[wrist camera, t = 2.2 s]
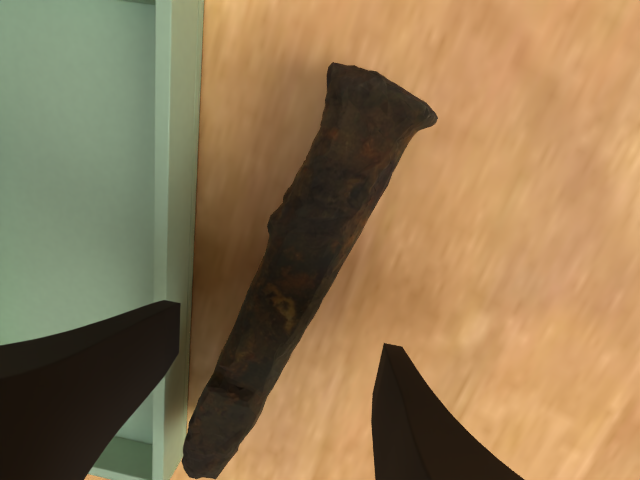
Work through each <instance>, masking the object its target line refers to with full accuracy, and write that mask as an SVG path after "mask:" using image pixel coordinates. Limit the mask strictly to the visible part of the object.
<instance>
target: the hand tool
mask: <svg viewBox="0 0 640 480" xmlns="http://www.w3.org/2000/svg"><path fill="white" fill-rule="evenodd" d="M437 119H438V117H437V115H436V114H435V112H434V111H433V110H432V109H431V108H430V107H429V105H427V103H425V102H424V101H422V100H420V99H419V98H417V97H415V96H414V95H412V94H411V93H409V92H408V91H406V90H404V89H403V88H401V87H400V86H398V85H397V84H395V83H393V82H391V81H390V80H388V79H387V78H385V77H384V76H382V75H381V74H379V73H378V72H377V71H368V70H365V69H362V68H358V67H357V66H355V65H353V66H347V65H343V64H339V63H334V62H333V63H332V64H331V65H330V66H329V67H328V71H327V95H326V99H325V109H324V112H323V118H322V122H321V128H320V130H319V132H318V134H317V135H316V137H315V139H314V141H313V143H312V146H311V149H310V151H309V153H308V155H307V157H306V160H305V161H304V163H303V165H302V166H301V168H300V170H299V171H298V173H297V174H296V177H295V179H294V182H293V184H292V185H291V187H290V188H288V190H287V191H286V193H285V195H284V197H283V203H282V204H281V205H280V207H279V208H278V209H277V210H276V211H275V212H274V213H273V214H272V215H271V216H270V219H269V222H268V225H267V228H268V232H269V240H268V246H267V249H266V252H265V254H264V257H263V259H262V261H261V264H260V266H259V268H258V271H257V273H256V275H255V277H254V279H253V281H252V283H251V285H250V288H249V290H248V292H247V295H246V298H245V301H244V303H243V305H242V307H241V310H240V313H239V315H238V318H237V320H236V323H235V325H234V327H233V330H232V332H231V334H230V336H229V338H228V340H227V342H226V344H225V346H224V348H223V350H222V352H221V354H220V356H219V359H218V362H217V365H216V368H215V371H214V373H213V375H212V376H211V378H210V380H209V381H208V383H207V385H206V386H205V388H204V390H203V392H202V394H201V397H200V398H199V400H198V403H197V406H196V408H195V410H194V413H193V415H192V417H191V419H190V422H189V428H188V433H187V435H186V438H185V441H184V445H183V458H182V464H183V466H184V467H183V468H184V470H185V471H186V473H187V474H188V476H189V477H190V478H195V479H198V478H201V477H206V478H213V479H216V478H217V477H218V476H219V474H220V473H221V472H222V470H223V469H224V467H225V466H226V465H227V463H228V462H229V461H230V459H231V458H232V457H233V456H234V455H235V453H236V452H237V451H238V447H239V444H240V443H241V442H242V441H243V439H244V438H245V436H246V435H247V434H248V433H249V432H250V431H251V429H252V428H253V427H254V425H255V423H256V422H257V420H258V418H259V416H260V414H261V412H262V410H263V407H264V404H265V401H266V398H267V396H268V395H269V393H270V391H271V390H272V389H273V387H274V385H275V383H276V381H277V380H278V378H279V376H280V374H281V372H282V370H283V368H284V367H285V365H286V363H287V361H288V360H289V358H290V355H291V353H292V351H293V350H294V348H295V347H296V345H297V344H298V342H299V341H300V339H301V337H302V335H303V333H304V331H305V329H306V328H307V326H308V325H309V323H310V322H311V320H312V319H313V317H314V315H315V314H316V312H317V310H318V309H319V307H320V304H321V302H322V300H323V298H324V297H325V295H326V293H327V292H328V290H329V289H330V287H331V285H332V283H333V282H334V280H335V278H336V276H337V274H338V272H339V270H340V268H341V266H342V265H343V263H344V261H345V259H346V258H347V256H348V254H349V252H350V251H351V249H352V247H353V246H354V244H355V242H356V241H357V239H358V237H359V236H360V234H361V232H362V230H363V228H364V226H365V224H366V222H367V220H368V218H369V216H370V215H371V213H372V211H373V209H374V208H375V206H376V204H377V203H378V201H379V199H380V197H381V196H382V194H383V192H384V191H385V189H386V187H387V186H388V184H389V181H390V178H391V176H392V173H393V171H394V169H395V168H396V166H397V164H398V162H399V160H400V158H401V156H402V154H403V152H404V150H405V148H406V147H407V145H408V143H409V141H410V140H411V138H412V137H413V136H414V134H415V133H416V132H417V131H419V130H421V129H424V128H427V127H431V126H433V125H434V124H435V123H436V121H437Z"/></svg>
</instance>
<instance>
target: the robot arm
mask: <svg viewBox="0 0 640 480" xmlns="http://www.w3.org/2000/svg"><path fill="white" fill-rule="evenodd" d="M180 307H181V303H178V302H172V301H167V300H162V301H158V302H154V303H151V304H148V305H145V306H142V307H139V308H137V309H134V310H131V311H128V312H125V313H122V314H119V315H117V316H114V317H111V318H108V319H105V320H102V321H99V322H95V323H92V324H89V325H86V326H83V327H80V328H76V329H73V330H69V331H66V332H62V333H58V334H54V335H50V336H46V337H41V338H37V339H32V340H27V341H22V342H16V343H11V344H5V345H0V480H84V479H85V477H86V476H87V474H88V473H89V471H90V470H91V468H92V467H93V465H94V464H95V462H96V461H97V460H98V458H99V457H100V455H101V454H102V452H103V451H104V450H105V448H106V447H107V445H108V444H109V442H110V441H111V440H112V439H113V437H114V436H115V435H116V434H117V432H118V431H119V430H120V429H121V427H122V426H123V425H124V424H125V423H126V421H127V420H128V419H129V418H130V417H131V416H132V414H133V413H134V412H135V411H136V410H137V409H138V407H139V406H140V405H141V404H142V403H143V401H144V400H145V399H146V398H147V397H148V396H149V394H150V393H151V392H152V391H153V390H154V388H155V387H156V386H157V385H158V384H159V382H160V381H161V380H162V379H163V377H164V376H165V375H166V373H167V371H168V370H169V368H170V367H171V365H172V364H173V362H174V360H175V359H176V357H177V356H178V354H179V340H180ZM371 423H372V438H373V452H374V465H375V479H376V480H524V479H523V478H522V477H520V476H519V475H518V474H516V473H515V472H514V471H512V470H511V469H510V468H509V467H507V466H506V465H505V464H504V463H502V462H501V461H500V460H499V459H498V458H496V457H495V456H494V455H493V454H492V453H491V452H490V451H488V450H487V449H486V448H485V447H484V446H483V445H482V444H481V443H479V442H478V441H477V440H476V439H475V438H474V437H473V436H472V435H471V434H470V433H469V432H468V431H467V430H466V429H465V428H464V427H463V426H462V425H461V424H460V423H459V422H458V421H457V420H456V419H455V418H454V417H453V415H452V414H451V413H450V412H449V411H448V410H447V409H446V407H445V406H444V405H443V404H442V403H441V401H440V400H439V399H438V398H437V396H436V395H435V394H434V393H433V391H432V390H431V389H430V387H429V386H428V385H427V383H426V382H425V380H424V379H423V378H422V376H421V375H420V373H419V372H418V370H417V369H416V367H415V366H414V364H413V363H412V361H411V359H410V358H409V356H408V355H407V353H406V352H405V350H404V349H403V347H401V346H396V345H391V344H386V343H384V345H383V350H382V354H381V359H380V363H379V368H378V372H377V377H376V381H375V386H374V390H373V398H372V420H371Z"/></svg>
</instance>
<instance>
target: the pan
mask: <svg viewBox="0 0 640 480" xmlns="http://www.w3.org/2000/svg"><path fill="white" fill-rule="evenodd" d="M203 14H204V0H0V345H5V344H11V343H16V342H22V341H27V340H32V339H37V338H41V337H46V336H50V335H54V334H58V333H62V332H66V331H69V330H73V329H76V328H80V327H83V326H86V325H89V324H92V323H95V322H99V321H102V320H105V319H108V318H111V317H114V316H117V315H119V314H122V313H125V312H128V311H131V310H134V309H137V308H139V307H142V306H145V305H148V304H151V303H154V302H158V301H162V300H167V301H172V302H178V303H181V307H180V340H179V354H178V356H177V357H176V359H175V360H174V362H173V364H172V365H171V367H170V368H169V370H168V371H167V373H166V375H165V376H164V377H163V379H162V380H161V381H160V382H159V384H158V385H157V386H156V387H155V388H154V390H153V391H152V392H151V393H150V394H149V396H148V397H147V398H146V399H145V400H144V401H143V403H142V404H141V405H140V406H139V407H138V409H137V410H136V411H135V412H134V413H133V414H132V416H131V417H130V418H129V419H128V420H127V421H126V423H125V424H124V425H123V426H122V427H121V429H120V430H119V431H118V432H117V434H116V435H115V436H114V437H113V439H112V440H111V441H110V442H109V444H108V445H107V447H106V448H105V450H104V451H103V452H102V454H101V455H100V457H99V458H98V460H97V461H96V462H95V464H94V465H93V467H92V468H91V470H90V471H89V473H88V474H90V475H94V476H99V477H103V478H107V479H111V480H170V478H171V477H172V475H173V473H174V471H175V470H176V468H177V466H178V464H179V463H180V461H181V459H182V457H183V445H184V441H185V438H186V427H187V403H188V379H189V354H190V330H191V306H192V281H193V257H194V233H195V208H196V184H197V160H198V135H199V111H200V87H201V63H202V38H203Z"/></svg>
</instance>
